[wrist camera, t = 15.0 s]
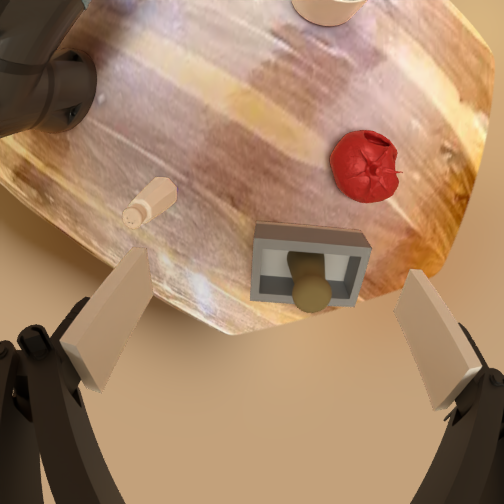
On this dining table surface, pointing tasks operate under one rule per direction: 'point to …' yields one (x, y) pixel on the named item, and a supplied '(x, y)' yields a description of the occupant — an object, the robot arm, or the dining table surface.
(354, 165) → the pomegranate
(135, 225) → the pepper shaker
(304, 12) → the mug
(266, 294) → the well block
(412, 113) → the dining table surface
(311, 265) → the pepper shaker
